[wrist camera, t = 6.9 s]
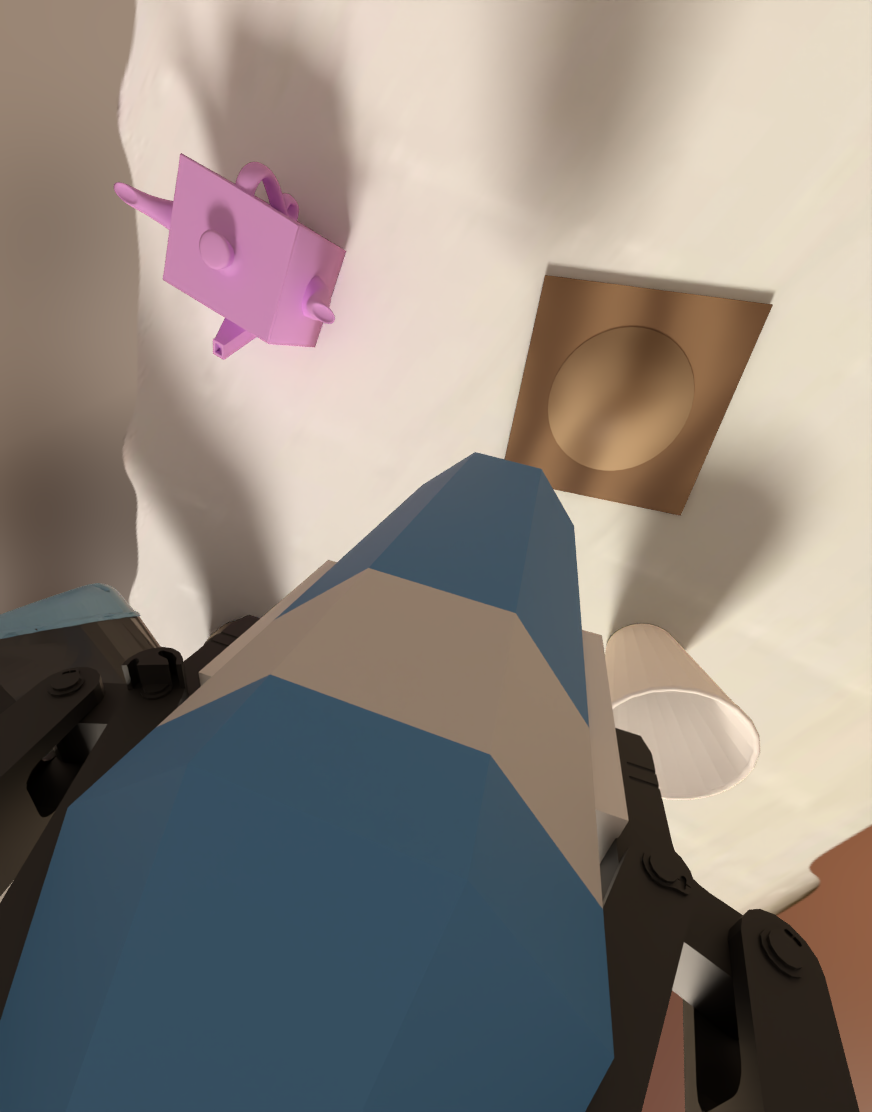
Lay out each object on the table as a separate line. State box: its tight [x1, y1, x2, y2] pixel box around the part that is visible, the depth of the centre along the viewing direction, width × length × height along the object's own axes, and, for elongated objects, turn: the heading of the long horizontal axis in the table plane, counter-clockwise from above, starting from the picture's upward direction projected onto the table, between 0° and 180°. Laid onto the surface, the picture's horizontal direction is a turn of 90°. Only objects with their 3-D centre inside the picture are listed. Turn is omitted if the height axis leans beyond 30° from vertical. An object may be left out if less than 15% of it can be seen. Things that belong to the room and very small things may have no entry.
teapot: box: [114, 153, 346, 360], centre depth 33 cm, size 18×13×10 cm
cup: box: [605, 624, 760, 800], centre depth 38 cm, size 12×12×12 cm
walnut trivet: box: [505, 275, 772, 515], centre depth 34 cm, size 16×16×1 cm
